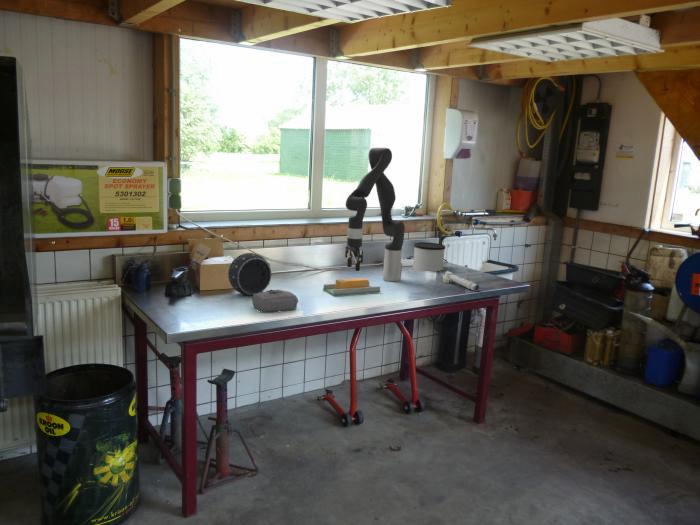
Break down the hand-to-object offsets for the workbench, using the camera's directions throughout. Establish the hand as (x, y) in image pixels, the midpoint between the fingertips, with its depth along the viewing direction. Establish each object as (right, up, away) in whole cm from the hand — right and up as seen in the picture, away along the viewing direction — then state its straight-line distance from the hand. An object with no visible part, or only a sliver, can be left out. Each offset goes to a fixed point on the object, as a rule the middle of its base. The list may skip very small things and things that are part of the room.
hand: (353, 268), depth 298 cm
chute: (-1, -10, +2) cm, 11 cm away
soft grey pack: (-34, -17, -35) cm, 52 cm away
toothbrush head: (+58, -10, +27) cm, 65 cm away
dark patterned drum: (-50, -12, -15) cm, 53 cm away
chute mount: (-1, -11, +2) cm, 12 cm away
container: (+46, -1, +68) cm, 83 cm away
